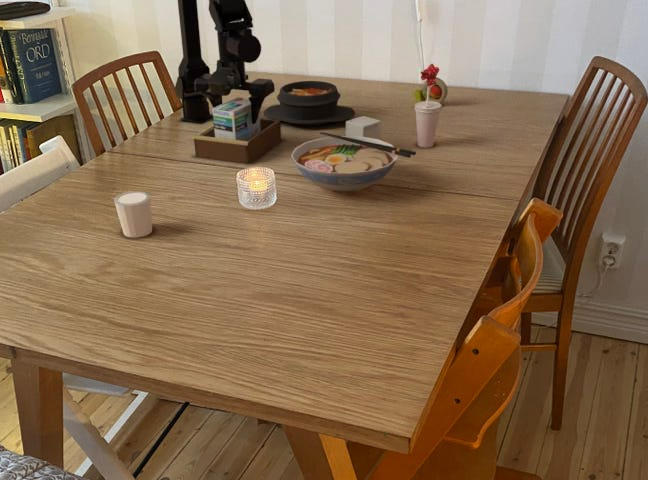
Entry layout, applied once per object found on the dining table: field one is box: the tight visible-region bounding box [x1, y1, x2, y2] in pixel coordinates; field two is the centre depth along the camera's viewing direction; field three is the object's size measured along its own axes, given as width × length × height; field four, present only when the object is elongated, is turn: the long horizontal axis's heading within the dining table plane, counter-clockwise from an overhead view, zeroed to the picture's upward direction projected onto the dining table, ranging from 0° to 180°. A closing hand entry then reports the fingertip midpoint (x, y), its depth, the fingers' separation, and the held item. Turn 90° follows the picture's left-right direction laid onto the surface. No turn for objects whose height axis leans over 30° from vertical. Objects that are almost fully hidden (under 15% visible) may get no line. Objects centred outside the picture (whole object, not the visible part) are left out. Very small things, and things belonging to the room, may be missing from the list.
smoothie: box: [413, 85, 442, 149], centre depth 176 cm, size 6×6×14 cm
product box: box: [345, 115, 382, 140], centre depth 176 cm, size 6×6×7 cm
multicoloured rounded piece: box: [412, 63, 449, 105], centre depth 203 cm, size 6×11×9 cm
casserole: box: [262, 80, 356, 127], centre depth 196 cm, size 25×19×8 cm
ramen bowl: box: [290, 131, 417, 193], centre depth 158 cm, size 25×23×8 cm
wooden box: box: [192, 117, 282, 165], centre depth 181 cm, size 15×18×5 cm
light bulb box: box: [211, 96, 261, 141], centre depth 179 cm, size 11×7×11 cm, turn 148°
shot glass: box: [113, 191, 153, 239], centre depth 143 cm, size 7×7×7 cm
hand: (237, 121), depth 178 cm, fingers open, 9 cm apart
